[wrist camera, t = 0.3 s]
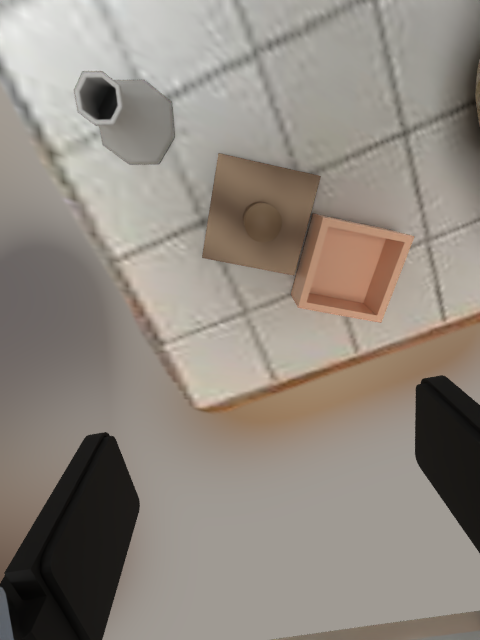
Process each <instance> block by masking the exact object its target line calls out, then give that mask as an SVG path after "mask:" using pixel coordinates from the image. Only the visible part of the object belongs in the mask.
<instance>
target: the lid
mask: <svg viewBox="0 0 480 640" xmlns="http://www.w3.org/2000/svg"><path fill="white" fill-rule="evenodd" d="M320 177H321V176H318V175H313V174H309V173H304V172H300V171H295V170H291V169H287V168H282V167H278V166H273V165H269V164H264V163H260V162H255V161H251V160H246V159H242V158H237V157H233V156H229V155H224V154H220V153H219V154H218V160H217V166H216V173H215V179H214V185H213V192H212V198H211V204H210V211H209V217H208V223H207V230H206V236H205V242H204V249H203V255H202V258H206V259H211V260H216V261H222V262H227V263H232V264H237V265H242V266H247V267H253V268H258V269H263V270H268V271H273V272H279V273H284V274H289V275H294V274H295V271H296V267H297V263H298V259H299V256H300V252H301V248H302V244H303V241H304V237H305V233H306V229H307V226H308V222H309V218H310V214H311V211H312V207H313V203H314V199H315V196H316V192H317V188H318V184H319V181H320Z"/></svg>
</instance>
